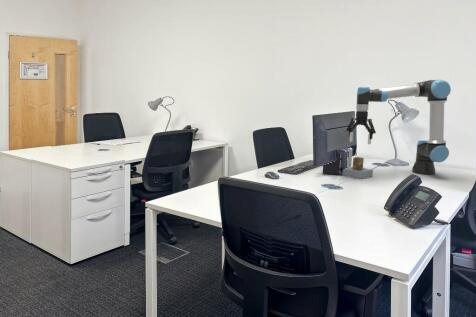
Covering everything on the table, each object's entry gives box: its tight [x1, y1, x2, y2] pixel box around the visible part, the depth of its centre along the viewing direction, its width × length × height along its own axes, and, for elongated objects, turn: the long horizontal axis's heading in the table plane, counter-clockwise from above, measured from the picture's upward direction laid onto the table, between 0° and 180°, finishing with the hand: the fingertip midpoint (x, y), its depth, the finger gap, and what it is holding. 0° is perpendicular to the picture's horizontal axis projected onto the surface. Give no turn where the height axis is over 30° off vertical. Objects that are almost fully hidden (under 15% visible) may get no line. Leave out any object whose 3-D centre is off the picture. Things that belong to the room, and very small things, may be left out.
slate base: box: [341, 166, 374, 180], centre depth 277 cm, size 14×14×5 cm
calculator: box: [322, 153, 341, 176], centre depth 281 cm, size 11×4×15 cm, turn 84°
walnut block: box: [352, 156, 365, 171], centre depth 276 cm, size 5×5×8 cm
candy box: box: [347, 147, 354, 168], centre depth 298 cm, size 14×6×16 cm, turn 5°
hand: (360, 142), depth 273 cm, fingers open, 13 cm apart
